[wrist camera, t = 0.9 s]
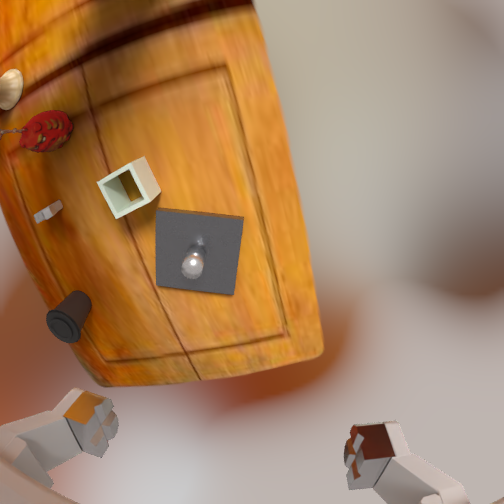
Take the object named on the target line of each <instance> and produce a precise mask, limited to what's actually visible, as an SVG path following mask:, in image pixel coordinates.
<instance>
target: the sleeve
mask: <svg viewBox="0 0 504 504" xmlns="http://www.w3.org/2000/svg"><path fill="white" fill-rule="evenodd" d="M128 169H129V170H130V172H131V174H132V176H133V178H134V180H135V182H136V184H137V186H138V188H139V190H140V192H141V194H142V196H141V197H139V198H137V199H135V200H133V201H130V199H129V197H128V195H127V193H126V191H125V189H124V187H123V185H122V183H121V181H120V179H119V177H118V175H120V174H121V173H123V172H125V171H127V170H128ZM97 184H98V186H99V188H100V190H101V192H102V194H103V196H104V197H105V199H106V201H107V203H108V205H109V207H110V209H111V211H112V213H113V215H114V216H115V218H116V219H118V218H120V217H122V216H124V215H126V214H127V213H129V212H131V211H133V210H135V209H137V208H139V207H141V206H143V205H145V204H147V203H149V202H151V201H152V200H153V199H154V198H155V197H156V196H157V195H158V194H159V193H160V192H161V189H160V187H159V185H158V183H157V181H156V179H155V177H154V175H153V173H152V171H151V169H150V167H149V165H148V163H147V161H146V158H145V156H143V157H141V158H139V159H137V160H135V161H133V162H131V163H129V164H127V165H125V166H124V167H122V168H120V169H118V170H117V171H115V172H113V173H111V174H110V175H108V176H106V177H105V178H103V179H101V180H100V181H98V182H97Z"/></svg>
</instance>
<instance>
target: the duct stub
mask: <svg viewBox="0 0 504 504" xmlns="http://www.w3.org/2000/svg"><path fill="white" fill-rule="evenodd" d="M243 221H244V217H240V216H232V215H223V214H215V213H206V212H197V211H187V210H177V209H168V208H158V209H157V210H156V285H158V286H166V287H173V288H181V289H189V290H197V291H205V292H213V293H222V294H231V295H234V289H235V281H236V273H237V266H238V258H239V251H240V243H241V236H242V229H243Z"/></svg>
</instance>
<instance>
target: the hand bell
mask: <svg viewBox="0 0 504 504" xmlns="http://www.w3.org/2000/svg"><path fill="white" fill-rule="evenodd" d="M22 89H23V77H22V74H21V72H20V71H19V70H17V69H11V70H9V71H7V72H6V73H5V74H4V75H3V76H2V77H1V78H0V108H2V109H4V110H9V109H11V108H13V107H14V106H15V105H16V103H17V102H18V100H19V99H20V96H21V94H22Z"/></svg>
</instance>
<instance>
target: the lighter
mask: <svg viewBox="0 0 504 504" xmlns="http://www.w3.org/2000/svg"><path fill="white" fill-rule="evenodd" d="M62 208H63V206H62V203H61V201H60V200H58V201H56V202H54V203H53V204H51V205H49V206H47V207H46V208H44V209H43V210H41V211H39V212H38V213H36V214H35V215H34V218H35V220H36V222H37V223H39V222H41V221H43V220H45V219H46V220H47V219H49V218H51V217H52V216H54V215H55V214H56V213H57V212H58V211H59V210H61V209H62Z"/></svg>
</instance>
